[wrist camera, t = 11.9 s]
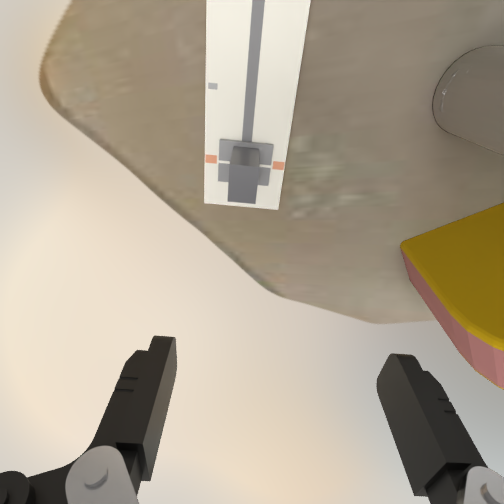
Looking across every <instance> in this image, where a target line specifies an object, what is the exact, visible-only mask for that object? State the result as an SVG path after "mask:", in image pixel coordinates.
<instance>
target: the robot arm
mask: <svg viewBox="0 0 504 504" xmlns="http://www.w3.org/2000/svg"><path fill="white" fill-rule="evenodd" d="M433 112H434V117H435V119H436V122H437V123H438V124H439V126H440V127H441V128H442V129H444V130H445V131H447V132H449V133H451V134H454V135H456V136H459V137H461V138H463V139H465V140H468V141H470V142H473V143H475V144H477V145H480V146H482V147H485V148H487V149H489V150H492V151H494V152H497V153H499V154H501V155H504V46H486V47H480V48H477V49H475V50H472V51H470V52H468V53H467V54H465V55H463V56H462V57H460V58H459V59H458V60H457V61H455V62H454V63H453V64H452V65H451V67H450V68H449V69H448V70H447V71H446V72H445V74H444V75H443V77H442V78H441V80H440V82H439V84H438V86H437V88H436V92H435V95H434V99H433ZM176 370H177V355H176V339H175V337H167V336H154V337H153V339H152V341H151V344H150V347H149V349H148V351H143V350H137V351H135V353H134V354H133V355H132V356H131V357H130V358H129V359H128V360H127V361H126V363H125V365H124V367H123V370H122V372H121V375H120V378H119V380H118V382H117V384H116V387H115V390H114V392H113V394H112V396H111V398H110V401H109V403H108V406H107V408H106V410H105V413H104V415H103V418H102V420H101V423H100V425H99V427H98V430H97V432H96V434H95V437H94V439H93V441H92V443H91V444H90V446H89V447H88V448H87V450H86V451H85V452H84V453H83V454H82V455H81V456H80V457H78V458H77V459H76V460H75V461H73V462H72V463H70V464H68V465H66V466H64V467H61V468H58V469H55V470H51V471H48V472H44V473H41V474H38V475H34V476H31V477H28V478H27V477H26V476H25V475H24V474H22V473H21V472H17V471H7V472H3V473H0V504H139V502H138V499H137V494H138V490H139V487H140V483H141V481H150V480H151V476H152V472H153V468H154V464H155V460H156V456H157V452H158V448H159V443H160V439H161V435H162V431H163V427H164V423H165V419H166V415H167V411H168V406H169V402H170V398H171V394H172V390H173V386H174V382H175V377H176ZM377 393H378V396H379V399H380V402H381V404H382V407H383V410H384V412H385V415H386V418H387V421H388V424H389V427H390V429H391V432H392V435H393V438H394V440H395V443H396V446H397V449H398V451H399V454H400V457H401V460H402V463H403V465H404V468H405V471H406V474H407V476H408V479H409V482H410V485H411V488H412V490H413V493H414V496H426V497H428V498H429V501H430V503H431V504H504V478H503V477H502V476H501V475H499V474H498V473H497V472H495V471H493V470H491V469H489V468H488V467H487V466H486V464H485V462H484V461H483V459H482V457H481V455H480V453H479V452H478V450H477V448H476V446H475V445H474V443H473V441H472V439H471V437H470V436H469V434H468V432H467V430H466V428H465V427H464V425H463V423H462V421H461V420H460V418H459V416H458V415H457V414H456V411H455V409H454V407H453V405H452V403H451V402H449V398H448V397H447V395H446V393H445V391H444V389H443V387H442V386H441V384H440V383H439V382H438V381H437V380H436V379H435V378H434V377H433V376H432V375H431V374H430V373H429V372H428V371H423V370H422V368H421V366H420V364H419V362H418V360H417V359H416V358H415V357H414V356H413V355H407V354H406V355H405V354H390V355H389V357H388V359H387V360H386V362H385V364H384V366H383V368H382V370H381V372H380V374H379V376H378V378H377Z"/></svg>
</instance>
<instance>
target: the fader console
mask: <svg viewBox="0 0 504 504" xmlns="http://www.w3.org/2000/svg"><path fill="white" fill-rule="evenodd" d="M310 2H311V0H207V15H206V97H205V178H204V203H210V204H221V205H232V206H243V207H253V208H264V209H275V210H278V207H279V200H280V194H281V187H282V181H283V175H284V168H285V162H286V155H287V149H288V143H289V136H290V130H291V123H292V117H293V111H294V104H295V98H296V91H297V85H298V79H299V72H300V66H301V60H302V53H303V47H304V40H305V34H306V28H307V21H308V15H309V8H310ZM220 139H228V140H238V141H248V142H258V143H268V144H273V145H274V147H273V155H272V162H271V170H270V177H269V185H268V186H262V185H258V186H257V195H256V204H249V203H238V202H227V200H228V182H220V181H218V164H219V140H220Z"/></svg>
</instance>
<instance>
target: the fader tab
mask: <svg viewBox="0 0 504 504" xmlns="http://www.w3.org/2000/svg"><path fill="white" fill-rule="evenodd" d="M273 147H274V145H273V144H268V143H258V142H248V141H238V140H228V139H220V140H219V164H218V181H220V182H228V200H227V202H238V203H249V204H256V195H257V186H258V185H262V186H268V185H269V177H270V170H271V162H272V155H273Z"/></svg>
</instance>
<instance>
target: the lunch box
mask: <svg viewBox="0 0 504 504" xmlns="http://www.w3.org/2000/svg"><path fill="white" fill-rule="evenodd" d="M400 248H401V251H402V255H403V258H404V261H405V265H406V268H407V271H408V275H409V278H410V281H411V282H412V284H413V285H414V287H415V288H416V290H417V291H418V293H419V294H420V295H421V297H422V298H423V300H424V301H425V303H426V304H427V306H428V307H429V309H430V310H431V312H432V313H433V315H434V316H435V317H436V319H437V320H438V322H439V323H440V325H441V326H442V328H443V329H444V331H445V332H446V334H447V335H448V336H449V338H450V339H451V341H452V342H453V344H454V345H455V347H456V348H457V350H458V351H459V353H460V354H461V355H462V356H463V357H464V358H465V359H466V361H467V362H468V363H469V364H470V365H471V366H472V367H473V368H474V370H475V371H477V372H478V373H479V374H481V375H482V376H484V377H485V378H487V379H488V380H489V381H491V382H492V383H493V384H495V385H496V386H498V387H499V388H502V389H504V203H502V204H499V205H497V206H494V207H491V208H489V209H486V210H484V211H481V212H478V213H476V214H473V215H471V216H468V217H465V218H463V219H460V220H457V221H455V222H452V223H450V224H447V225H444V226H442V227H439V228H437V229H434V230H431V231H429V232H426V233H424V234H421V235H418V236H416V237H413V238H411V239H408V240H405V241H403V242H402V243H401V245H400Z"/></svg>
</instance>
